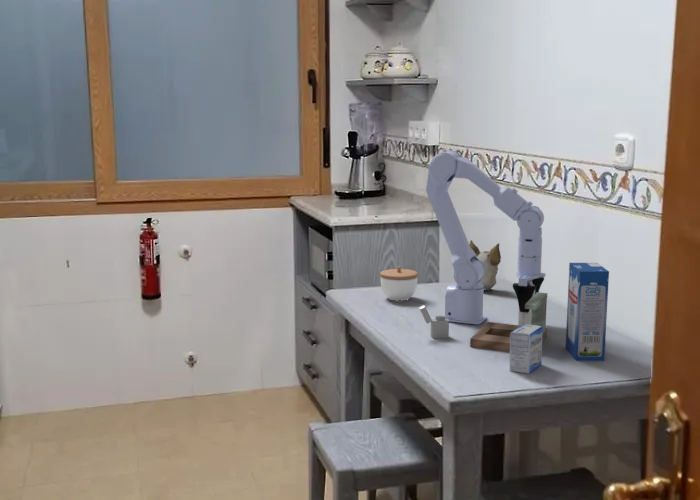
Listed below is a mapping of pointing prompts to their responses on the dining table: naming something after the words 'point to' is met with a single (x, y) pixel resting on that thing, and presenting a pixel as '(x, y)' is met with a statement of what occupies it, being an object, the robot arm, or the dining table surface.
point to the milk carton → (587, 311)
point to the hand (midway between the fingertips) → (527, 308)
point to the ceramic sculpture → (488, 264)
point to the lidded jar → (398, 283)
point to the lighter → (436, 324)
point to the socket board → (510, 327)
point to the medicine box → (526, 348)
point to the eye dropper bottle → (526, 317)
